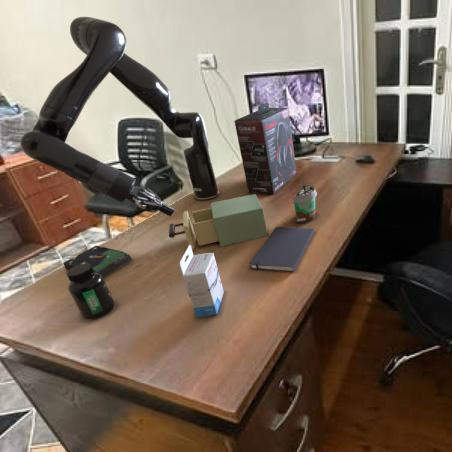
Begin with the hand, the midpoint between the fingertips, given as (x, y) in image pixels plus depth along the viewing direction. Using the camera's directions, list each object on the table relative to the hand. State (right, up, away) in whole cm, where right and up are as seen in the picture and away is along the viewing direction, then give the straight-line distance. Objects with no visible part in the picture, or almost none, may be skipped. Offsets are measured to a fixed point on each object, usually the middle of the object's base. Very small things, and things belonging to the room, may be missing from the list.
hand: (172, 212), depth 104 cm
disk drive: (-20, -16, -2) cm, 26 cm away
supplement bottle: (-8, -24, -20) cm, 32 cm away
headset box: (+22, +14, +48) cm, 55 cm away
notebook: (+33, -11, -1) cm, 35 cm away
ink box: (+19, -23, -21) cm, 36 cm away
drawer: (+7, -8, +7) cm, 12 cm away
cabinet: (+18, -6, +10) cm, 21 cm away
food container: (+40, -1, +17) cm, 43 cm away
